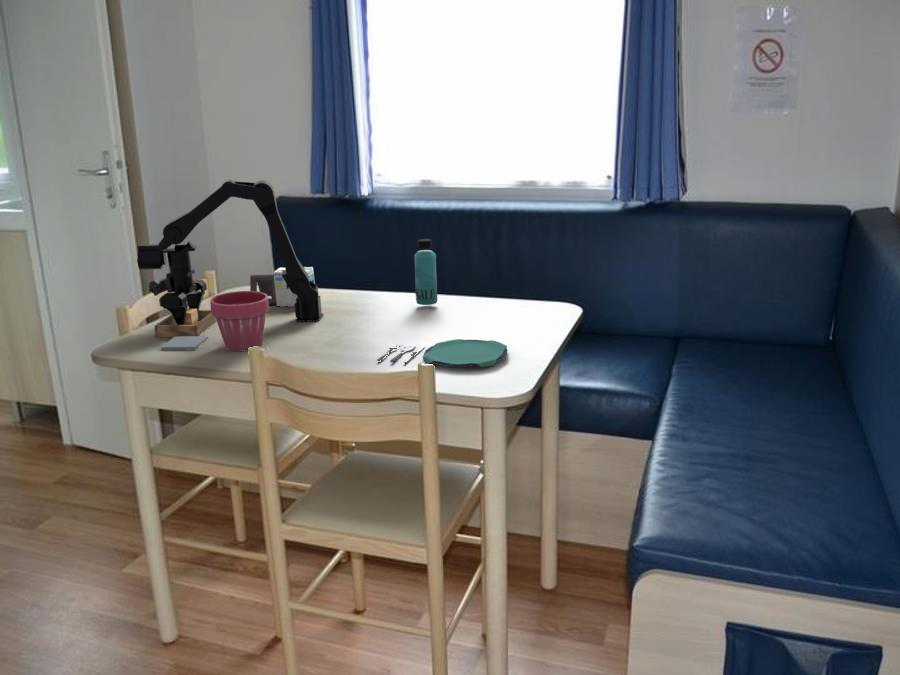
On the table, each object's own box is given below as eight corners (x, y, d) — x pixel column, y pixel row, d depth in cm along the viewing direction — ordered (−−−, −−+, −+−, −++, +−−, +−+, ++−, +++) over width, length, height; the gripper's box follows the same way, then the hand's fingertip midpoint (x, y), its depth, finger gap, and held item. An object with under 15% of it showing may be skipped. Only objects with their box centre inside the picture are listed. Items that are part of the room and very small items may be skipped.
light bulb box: (316, 301, 250) (314, 266, 246) (311, 307, 243) (308, 271, 240) (282, 301, 251) (279, 266, 247) (276, 307, 244) (272, 271, 241)
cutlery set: (496, 375, 183) (496, 365, 182) (371, 368, 192) (371, 358, 191) (516, 348, 201) (515, 339, 201) (401, 343, 210) (400, 334, 209)
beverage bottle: (430, 303, 243) (428, 236, 237) (442, 307, 238) (440, 239, 232) (411, 306, 240) (408, 239, 234) (423, 311, 234) (420, 242, 228)
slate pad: (208, 339, 215) (208, 336, 215) (195, 349, 207) (195, 346, 207) (175, 339, 216) (175, 336, 216) (161, 350, 208) (160, 347, 207)
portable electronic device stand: (248, 306, 246) (245, 279, 243) (254, 299, 253) (251, 273, 251) (278, 305, 246) (275, 278, 243) (283, 299, 253) (280, 272, 251)
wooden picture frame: (218, 319, 233) (217, 309, 232) (198, 336, 218) (196, 325, 217) (178, 320, 234) (177, 310, 233) (155, 336, 219) (154, 326, 218)
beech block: (199, 326, 228) (196, 308, 226) (193, 330, 223) (190, 313, 222) (183, 326, 228) (181, 308, 227) (177, 330, 224) (174, 313, 222)
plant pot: (284, 343, 210) (279, 295, 206) (238, 358, 199) (232, 307, 196) (249, 334, 218) (244, 287, 215) (204, 347, 208) (198, 299, 204)
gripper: (165, 260, 230) (172, 314, 235) (136, 276, 212) (144, 333, 217) (204, 260, 229) (210, 313, 234) (177, 275, 211) (185, 333, 216)
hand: (187, 323), depth 225 cm, fingers open, 9 cm apart
